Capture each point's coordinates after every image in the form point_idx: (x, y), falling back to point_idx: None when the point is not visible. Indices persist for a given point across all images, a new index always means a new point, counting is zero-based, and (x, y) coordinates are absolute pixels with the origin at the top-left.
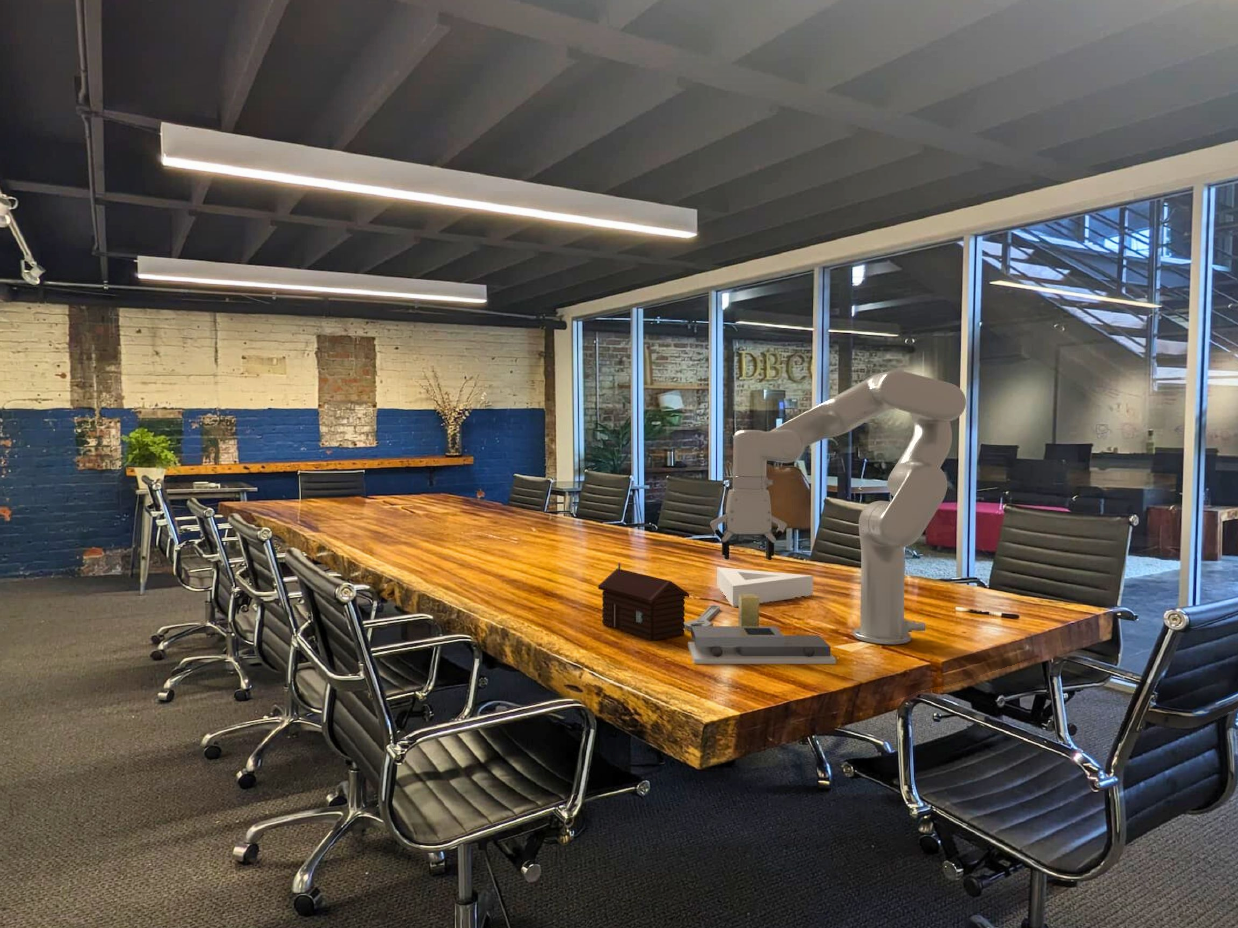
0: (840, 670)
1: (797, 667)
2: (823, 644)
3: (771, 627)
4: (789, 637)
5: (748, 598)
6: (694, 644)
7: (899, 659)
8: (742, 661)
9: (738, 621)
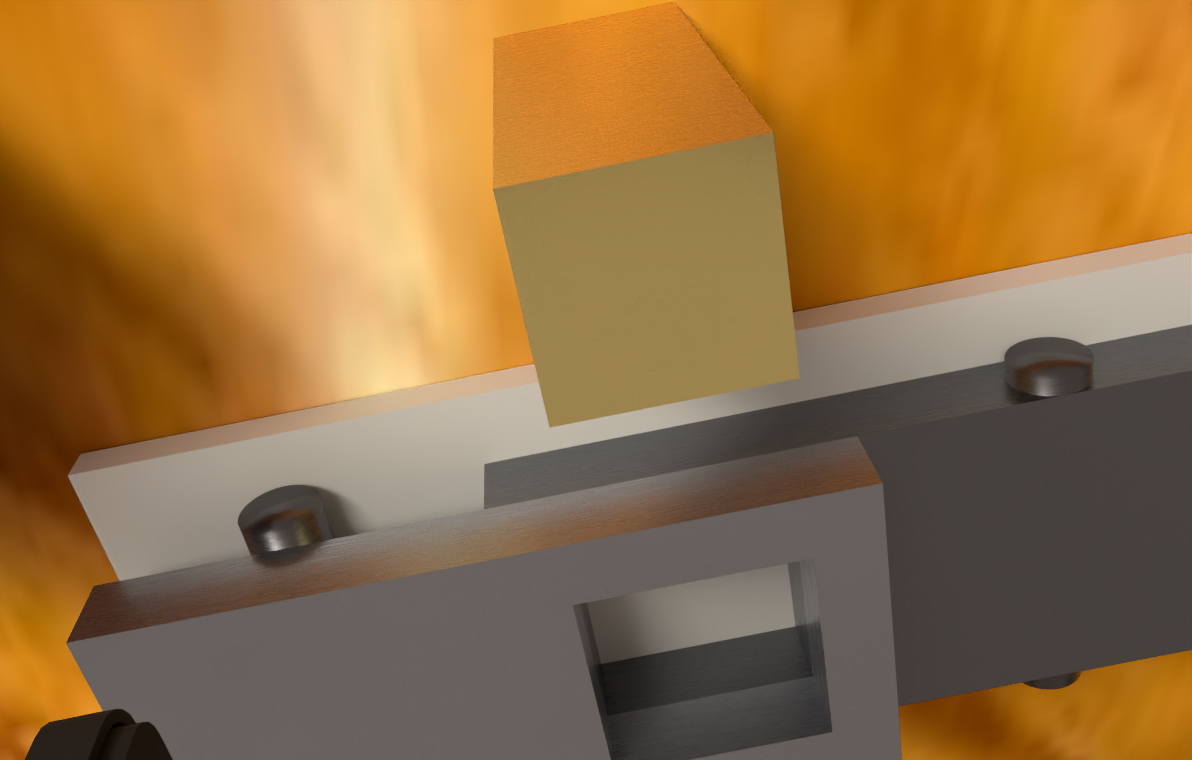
0: (1156, 726)
1: (907, 730)
2: (1188, 606)
3: (834, 534)
4: (967, 478)
5: (646, 406)
6: (148, 535)
7: None
8: None
9: (493, 82)
